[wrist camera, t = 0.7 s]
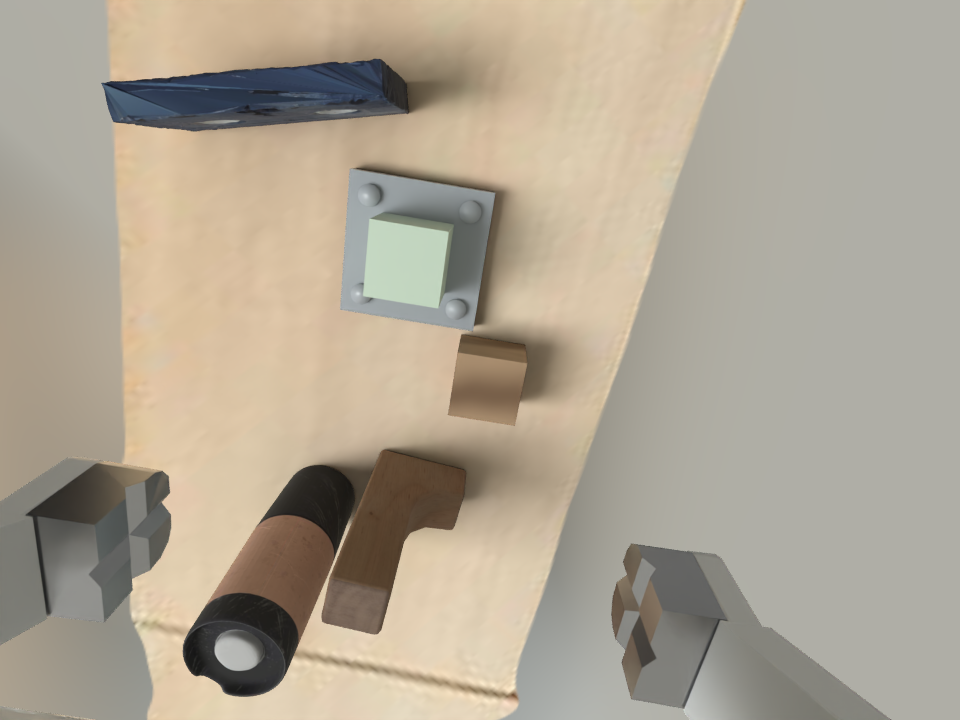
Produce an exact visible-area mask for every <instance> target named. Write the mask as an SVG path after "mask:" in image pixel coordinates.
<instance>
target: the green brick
mask: <svg viewBox="0 0 960 720" xmlns="http://www.w3.org/2000/svg"><path fill="white" fill-rule="evenodd" d="M453 228H454V224H449V223H443V222H437V221H431V220H425V219H419V218H413V217H407V216H401V215H395V214H389V213H381V214H378V215H376V216H374V217H372V218H370V219H369V229H368V241H367V253H366V265H365V277H364V289H363V296H365V297H371V298H377V299H383V300H390V301H396V302H402V303H408V304H414V305H420V306H426V307H432V308H439V306H440V303H441V301H442V298H443V296H444V293H445V286H446V278H447V271H448V264H449V257H450V250H451V242H452V235H453Z"/></svg>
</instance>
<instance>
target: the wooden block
mask: <svg viewBox="0 0 960 720" xmlns="http://www.w3.org/2000/svg"><path fill="white" fill-rule="evenodd" d="M465 480H466V472H465V471H464V470H462V469H458V468H454V467H450V466H446V465H442V464H438V463H434V462H431V461H427V460H423V459H419V458H415V457H411V456H407V455H403V454H399V453H395V452H391V451H387V450H382V451H381V453H380V455H379V457H378V460H377V462H376V465H375V467H374V470H373V472H372V475H371V477H370V479H369V482H368V484H367V487H366V489H365V492H364V494H363V497H362V499H361V502H360V504H359V507H358V509H357V511H356V514H355V516H354V519H353V521H352V524H351V526H350V529H349V531H348V534H347V536H346V539H345V541H344V544H343V546H342V548H341V551H340V553H339V556H338V558H337V561H336V563H335V566H334V568H333V571H332V573H331V576H330V578H329V583H328V588H327V592H326V597H325V602H324V606H323V611H322V622H324V623H326V624H331V625H335V626H340V627H344V628H348V629H353V630H357V631H361V632H366V633H370V634H378V633H379V632H380V631H381V629H382V625H383V622H384V618H385V614H386V610H387V607H388V603H389V599H390V596H391V592H392V588H393V584H394V580H395V576H396V572H397V568H398V564H399V560H400V556H401V552H402V548H403V544H404V541H405V539H406V538H407V537H408V535H409V534H410V533H411V532H414V531H416V530H419V529H422V528H424V527H429V528H437V529H445V530H452V529H453V528H454V526H455V523H456V520H457V517H458V513H459V510H460V507H461V504H462V500H463V497H464V490H465Z"/></svg>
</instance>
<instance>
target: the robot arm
mask: <svg viewBox="0 0 960 720" xmlns="http://www.w3.org/2000/svg"><path fill="white" fill-rule="evenodd" d="M169 494H170V487H169V476H168V475H166V474H165V473H164V472H163V471H160V470H154V469H149V468H143V467H137V466H132V465H126V464H120V463H115V462H109V461H102V460H96V459H90V458H84V457H70V458H66V459H65V460H63V461H61V462H60V463H58V464H57V465H56V466H54V467H52V468H51V469H49V470H48V471H46V472H45V473H43V474H42V475H40V476H39V477H37V478H36V479H34V480H33V481H31V482H29V483H28V484H26V485H25V486H23V487H22V488H20V489H19V490H17V491H16V492H14V493H13V494H11V495H10V496H8V497H7V498H5V499H4V500H2V501H0V645H1V644H3V643H5V642H7V641H8V640H10V639H12V638H14V637H16V636H17V635H19V634H21V633H23V632H25V631H26V630H28V629H30V628H32V627H33V626H35V625H37V624H39V623H41V622H42V621H44V620H46V619H47V616H54V617H62V618H71V619H79V620H88V621H96V622H105V621H106V620H107V619H108V618H109V616H110V615H111V614H112V613H113V612H114V611H115V610H116V609H117V607H118V606H119V605H120V604H121V603H122V602H123V601H124V599H125V598H126V597H127V596H128V595H129V594H130V593H131V592H132V590H133V589H132V579H133V578H135V577H137V576H139V575H141V574H143V573H145V572H147V571H150V570H151V568H152V567H153V566H154V565H155V564H156V562H157V561H158V560H159V559H160V558H161V556H162V553H163V551H164V549H165V547H166V545H167V543H168V541H169V536H170V531H171V514H170V513H169V512H168V510H167V509H166V508H165V506H164V505H163V504H162V501H163V500H164V499H165V498H166V497H167V496H168V495H169ZM623 563H624V566H625V570H626V572H627V575H626V576H625V577H623V578H622V579H621V580H619V581H618V582H617V584H616V588H615V591H614V595H613V601H612V614H611V615H612V625H613V630H614V634H615V639H616V640H617V641H618V642H619V644H620V645H621V646H622V647H623V648H624V649H625V654H624V657H623V660H622V665H623V670H624V673H625V677H626V681H627V685H628V689H629V692H630V696H631V699H633V700H639V701H644V702H650V703H656V704H661V705H667V706H672V707H678V708H684V712H685V714H686V715H687V716H688V718H689V719H690V720H891V719H890V718H888V717H887V716H886V715H884V714H883V713H882V712H880V711H879V710H878V709H876V708H875V707H874V706H872V705H871V704H870V703H869V702H867V701H866V700H865V699H863V698H862V697H861V696H859V695H858V694H857V693H856V692H854V691H853V690H851V689H850V688H849V687H848V686H846V685H845V684H843V683H842V682H841V681H840V680H839V679H837V678H836V677H835V676H833V675H832V674H830V673H829V672H828V671H827V670H825V669H824V668H823V667H822V666H820V665H819V664H817V663H816V662H815V661H814V660H812V659H811V658H810V657H808V656H807V655H806V654H805V653H803V652H802V651H801V650H799V649H798V648H797V647H795V646H794V645H793V644H792V643H790V642H789V641H788V640H786V639H785V638H784V637H782V636H781V635H780V634H778V633H777V632H776V631H774V630H773V629H772V628H768V627H762V626H761V624H760V622H759V621H758V619H757V617H756V615H755V614H754V612H753V611H752V609H751V607H750V606H749V604H748V602H747V600H746V599H745V597H744V595H743V594H742V592H741V590H740V589H739V587H738V585H737V584H736V582H735V580H734V578H733V577H732V575H731V573H730V572H729V570H728V568H727V567H726V565H725V563H724V562H723V560H722V559H721V558H720V557H719V556H717V555H716V554H710V553H701V552H693V551H687V552H686V551H679V550H672V549H665V548H658V547H652V546H645V545H638V544H631V545H630V547H629V548H628V550H627V552H626V555H625V558H624V561H623ZM0 720H94V719H87V718H80V717H72V716H66V715H59V714H51V713H44V712H37V711H30V710H23V709H15V708H8V707H2V706H0Z"/></svg>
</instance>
